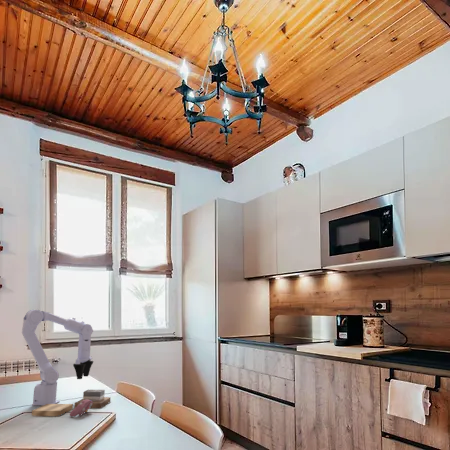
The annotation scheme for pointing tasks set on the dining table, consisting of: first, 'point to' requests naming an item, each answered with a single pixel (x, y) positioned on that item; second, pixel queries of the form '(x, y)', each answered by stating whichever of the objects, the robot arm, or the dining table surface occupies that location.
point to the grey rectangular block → (93, 395)
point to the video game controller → (81, 408)
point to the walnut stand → (96, 403)
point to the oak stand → (52, 409)
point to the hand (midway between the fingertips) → (82, 377)
